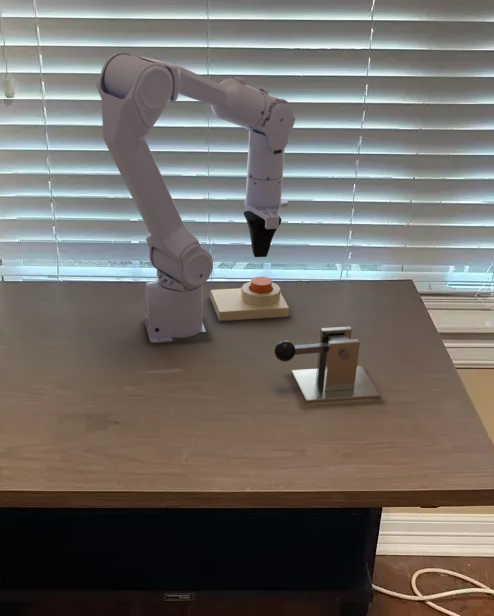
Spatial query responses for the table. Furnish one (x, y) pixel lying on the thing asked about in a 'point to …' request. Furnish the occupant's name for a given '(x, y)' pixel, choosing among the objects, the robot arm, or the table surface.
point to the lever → (303, 348)
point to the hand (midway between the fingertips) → (260, 255)
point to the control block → (248, 303)
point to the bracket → (336, 372)
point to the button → (261, 285)
